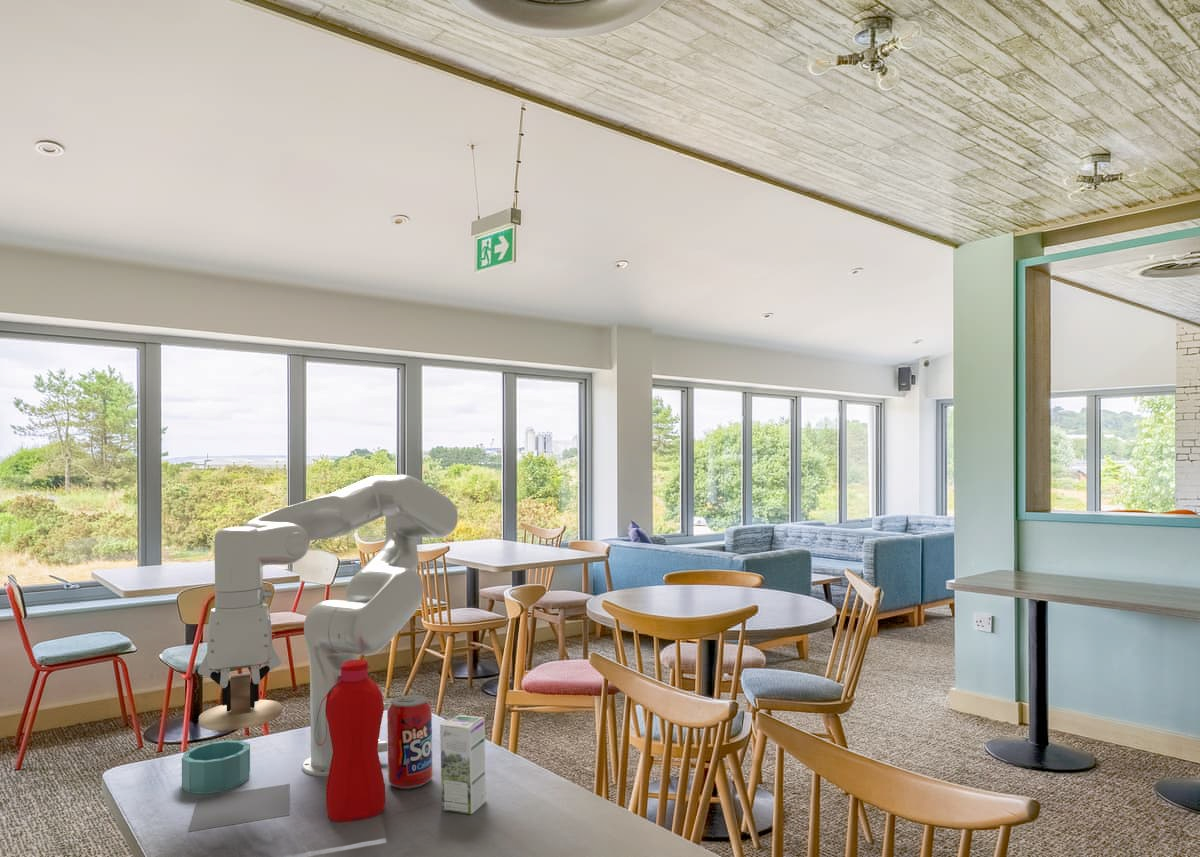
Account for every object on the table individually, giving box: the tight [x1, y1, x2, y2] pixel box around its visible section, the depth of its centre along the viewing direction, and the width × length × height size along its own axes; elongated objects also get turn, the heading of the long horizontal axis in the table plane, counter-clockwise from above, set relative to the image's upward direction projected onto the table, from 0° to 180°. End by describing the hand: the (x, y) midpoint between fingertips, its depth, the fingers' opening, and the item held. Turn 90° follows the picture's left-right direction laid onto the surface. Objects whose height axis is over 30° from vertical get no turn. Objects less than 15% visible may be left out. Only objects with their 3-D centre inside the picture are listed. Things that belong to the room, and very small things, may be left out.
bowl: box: [181, 740, 251, 795], centre depth 150 cm, size 11×11×6 cm
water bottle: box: [315, 659, 386, 823], centre depth 136 cm, size 9×11×25 cm
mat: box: [187, 783, 291, 833], centre depth 138 cm, size 15×14×1 cm
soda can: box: [386, 694, 434, 790], centre depth 148 cm, size 8×8×15 cm
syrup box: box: [439, 714, 487, 815], centre depth 138 cm, size 6×6×14 cm
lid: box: [198, 672, 283, 731], centre depth 139 cm, size 13×13×7 cm
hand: (240, 706), depth 139 cm, fingers closed on lid, 3 cm apart
